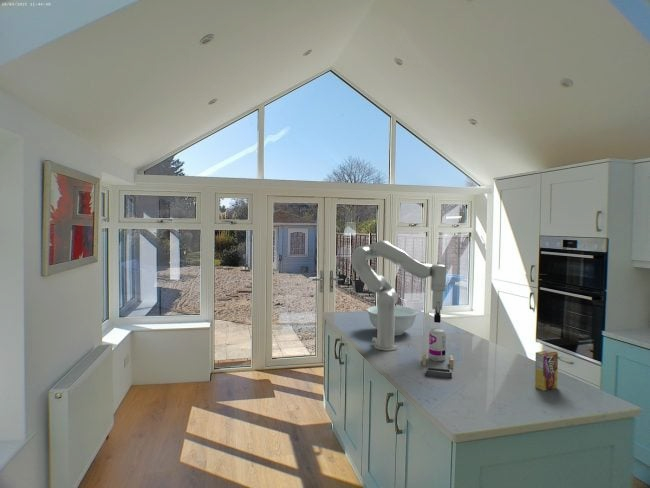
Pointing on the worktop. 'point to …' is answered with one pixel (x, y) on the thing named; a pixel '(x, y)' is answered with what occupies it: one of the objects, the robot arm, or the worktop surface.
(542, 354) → the candy box
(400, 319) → the bowl
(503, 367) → the worktop surface
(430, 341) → the supplement can
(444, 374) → the pit tray
